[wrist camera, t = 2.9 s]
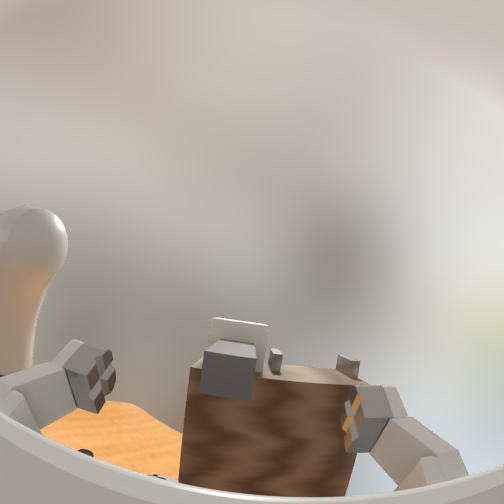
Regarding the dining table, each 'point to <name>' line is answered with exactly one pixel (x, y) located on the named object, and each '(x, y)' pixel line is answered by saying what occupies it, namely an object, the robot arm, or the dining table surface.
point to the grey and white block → (233, 358)
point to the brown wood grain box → (271, 432)
